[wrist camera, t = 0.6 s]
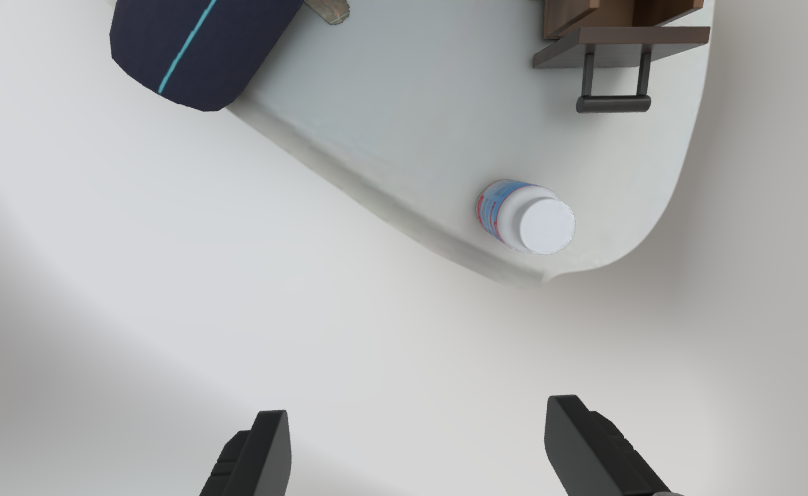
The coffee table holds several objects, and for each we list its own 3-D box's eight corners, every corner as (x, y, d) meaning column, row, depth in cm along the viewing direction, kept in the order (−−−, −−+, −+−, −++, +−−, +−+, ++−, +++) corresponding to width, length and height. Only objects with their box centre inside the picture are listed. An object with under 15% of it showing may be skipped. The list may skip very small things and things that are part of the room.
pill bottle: (465, 198, 42) (497, 215, 31) (514, 168, 41) (565, 174, 30) (491, 245, 43) (530, 277, 32) (539, 216, 43) (596, 238, 32)
